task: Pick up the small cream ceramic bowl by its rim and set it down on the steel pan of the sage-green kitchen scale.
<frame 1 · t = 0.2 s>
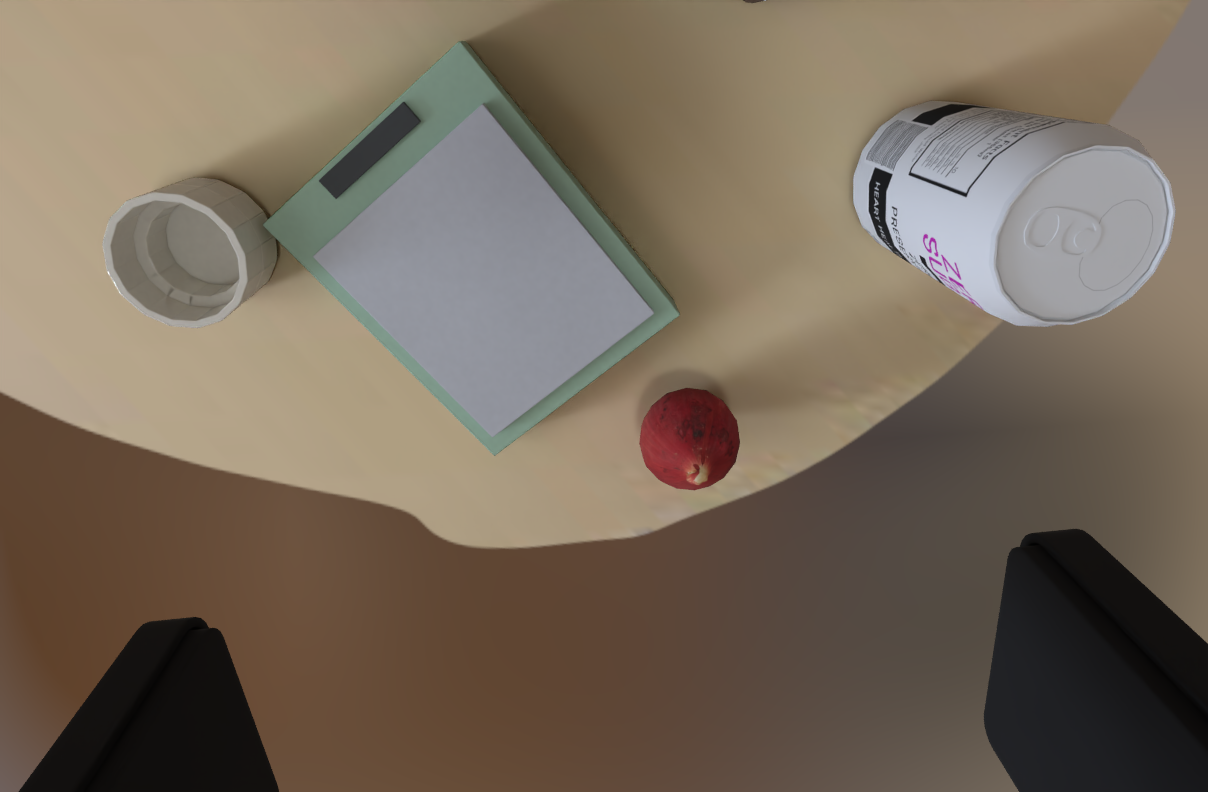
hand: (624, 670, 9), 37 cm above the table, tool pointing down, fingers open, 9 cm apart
supplement can: (919, 177, 44), on the table
onion: (680, 410, 49), on the table
scale: (483, 260, 44), on the table
bowl: (216, 239, 43), on the table
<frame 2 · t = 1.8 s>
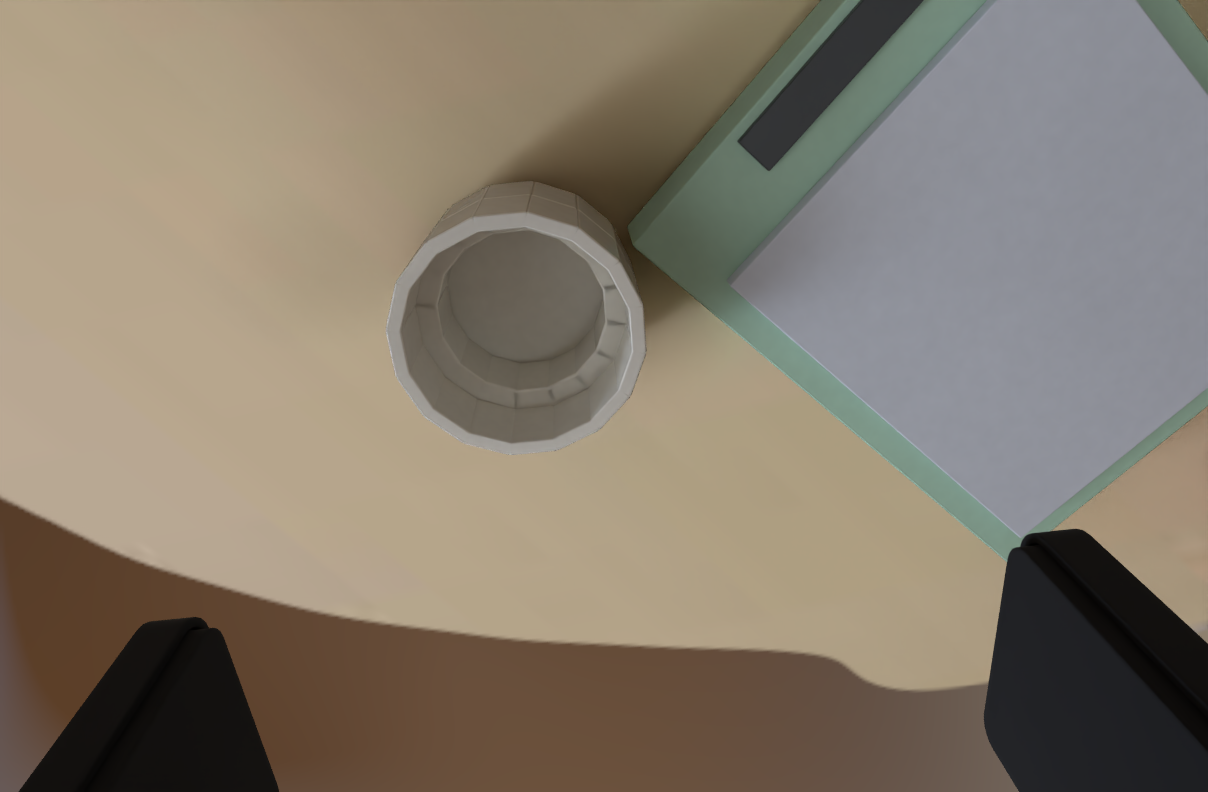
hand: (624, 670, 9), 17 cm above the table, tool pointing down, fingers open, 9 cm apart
scale: (977, 239, 25), on the table
bowl: (526, 286, 25), on the table
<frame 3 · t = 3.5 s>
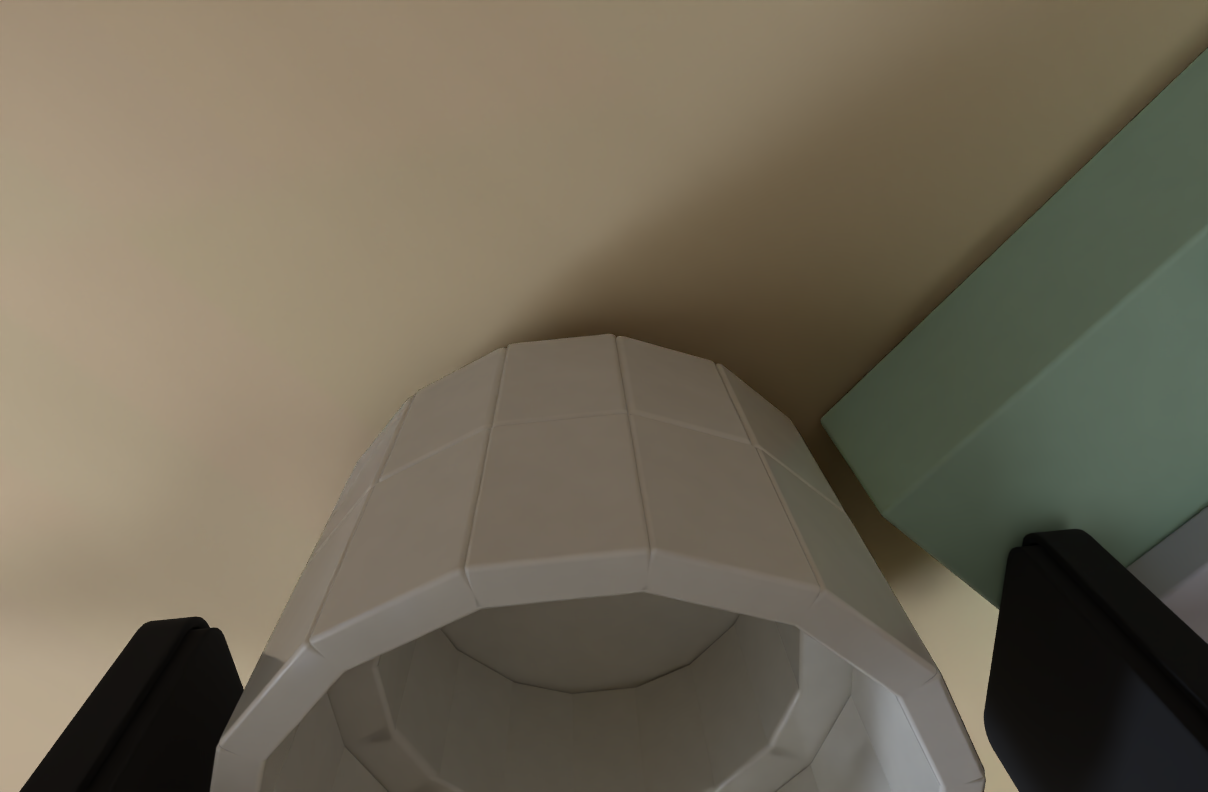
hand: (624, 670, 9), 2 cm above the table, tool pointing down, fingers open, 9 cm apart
bowl: (587, 540, 11), on the table
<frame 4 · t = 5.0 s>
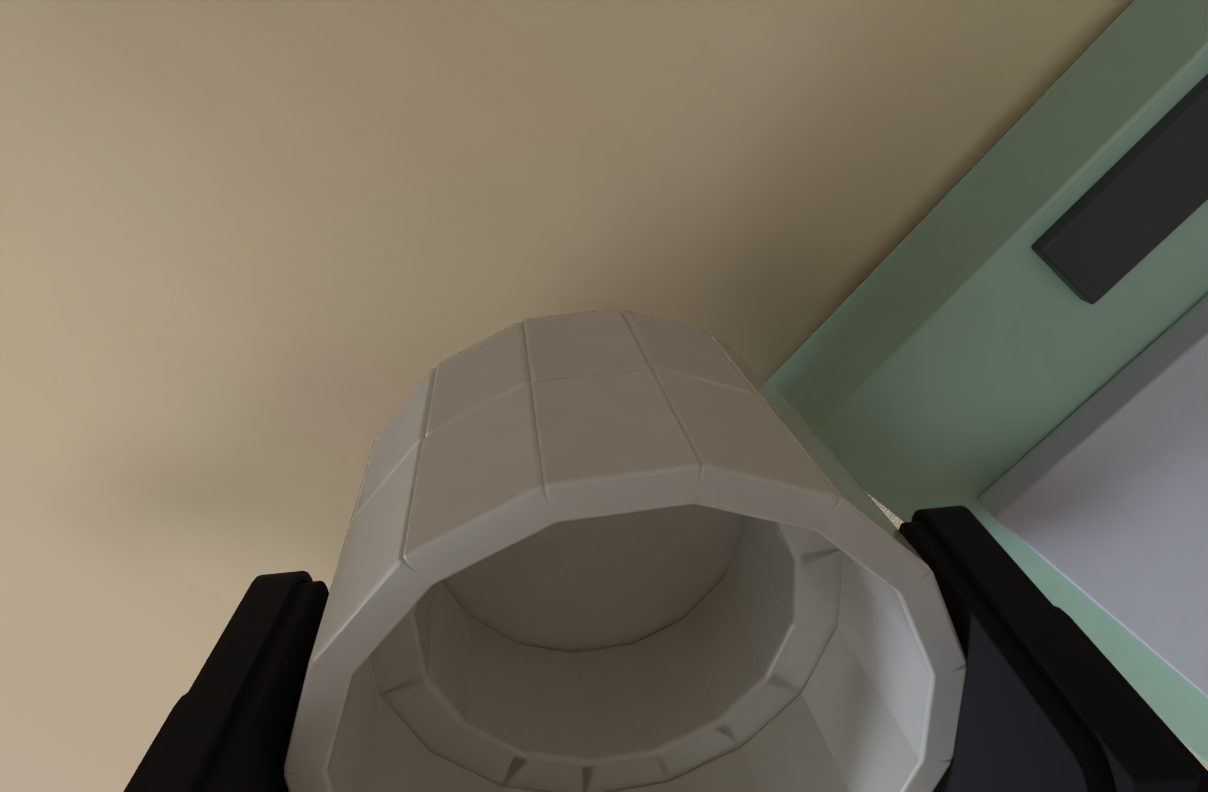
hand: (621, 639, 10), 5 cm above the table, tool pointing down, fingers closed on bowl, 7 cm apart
bowl: (587, 506, 12), point 2 cm above the table, touching gripper
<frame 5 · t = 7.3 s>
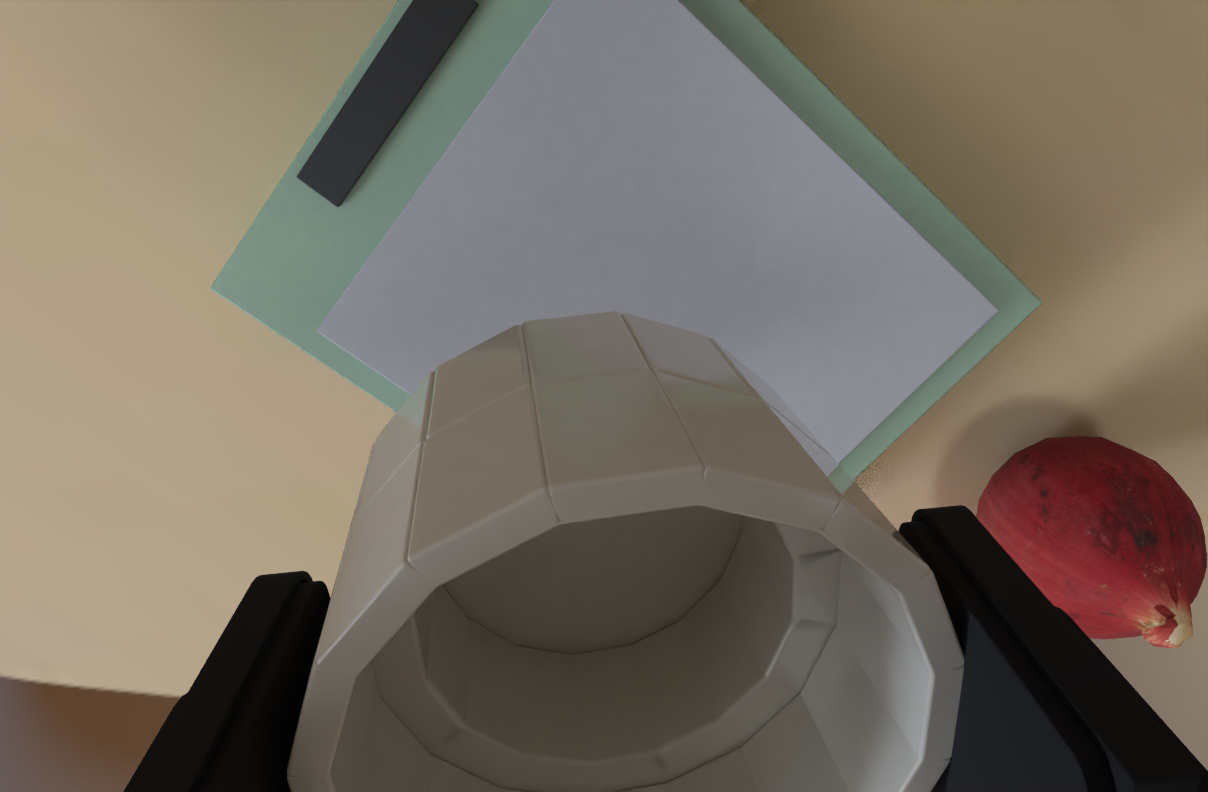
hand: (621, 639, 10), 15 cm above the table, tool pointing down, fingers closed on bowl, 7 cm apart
onion: (1013, 470, 27), on the table
scale: (631, 272, 23), on the table
bowl: (585, 508, 12), point 12 cm above the table, tilted 6°, touching gripper
when the fingers open (6 cm above the table, at t = 9.9 s): bowl stays where it is, resting on scale.
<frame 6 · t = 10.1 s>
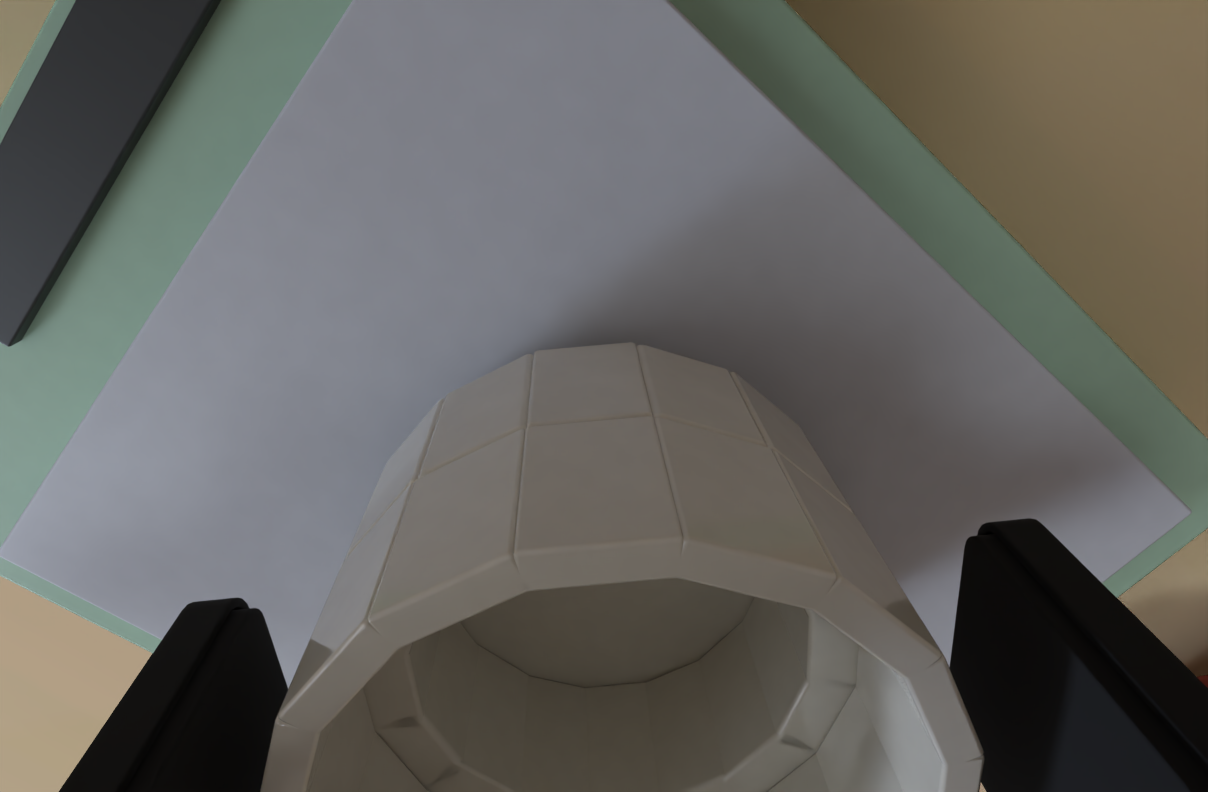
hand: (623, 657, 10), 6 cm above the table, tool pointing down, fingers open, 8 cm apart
scale: (570, 419, 14), on the table
bowl: (602, 540, 12), point 3 cm above the table, touching scale
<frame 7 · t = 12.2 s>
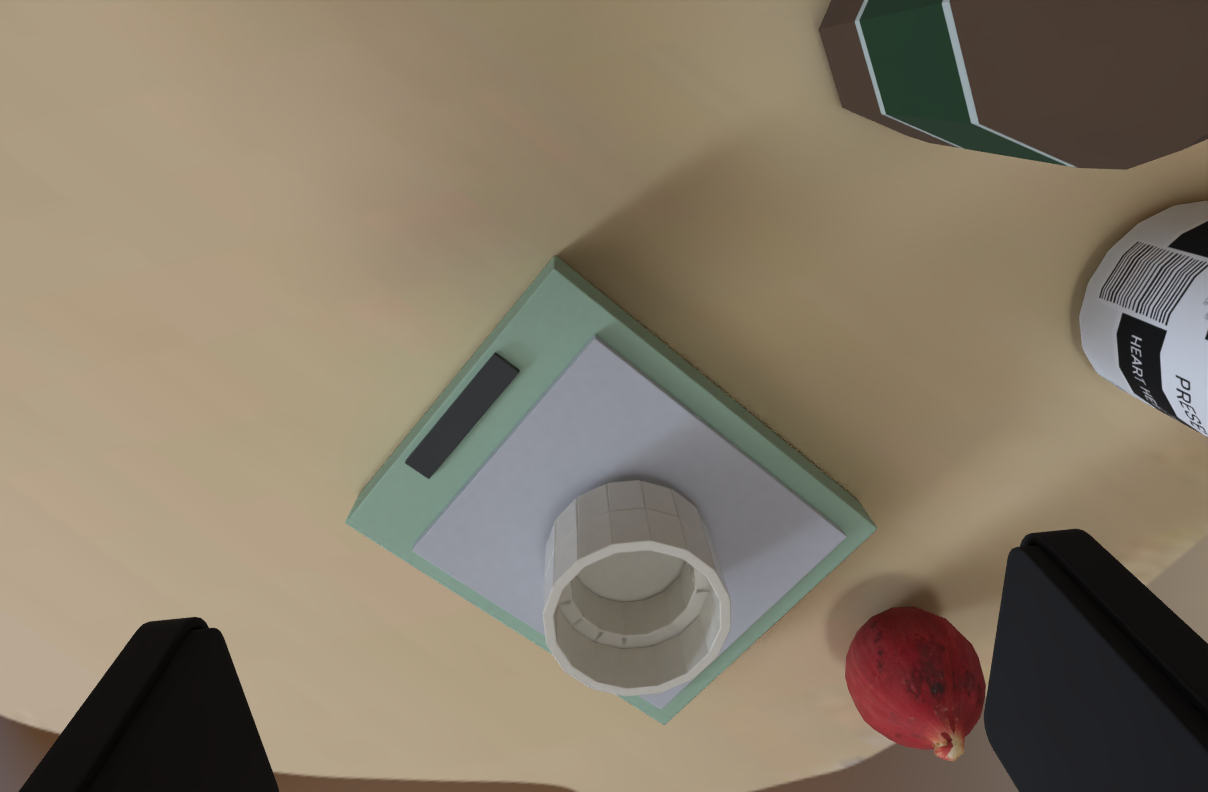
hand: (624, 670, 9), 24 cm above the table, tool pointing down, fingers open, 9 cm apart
supplement can: (1162, 296, 33), on the table
onion: (880, 620, 39), on the table
beer bottle: (915, 27, 29), on the table
scale: (613, 498, 35), on the table
bowl: (627, 546, 33), point 3 cm above the table, touching scale
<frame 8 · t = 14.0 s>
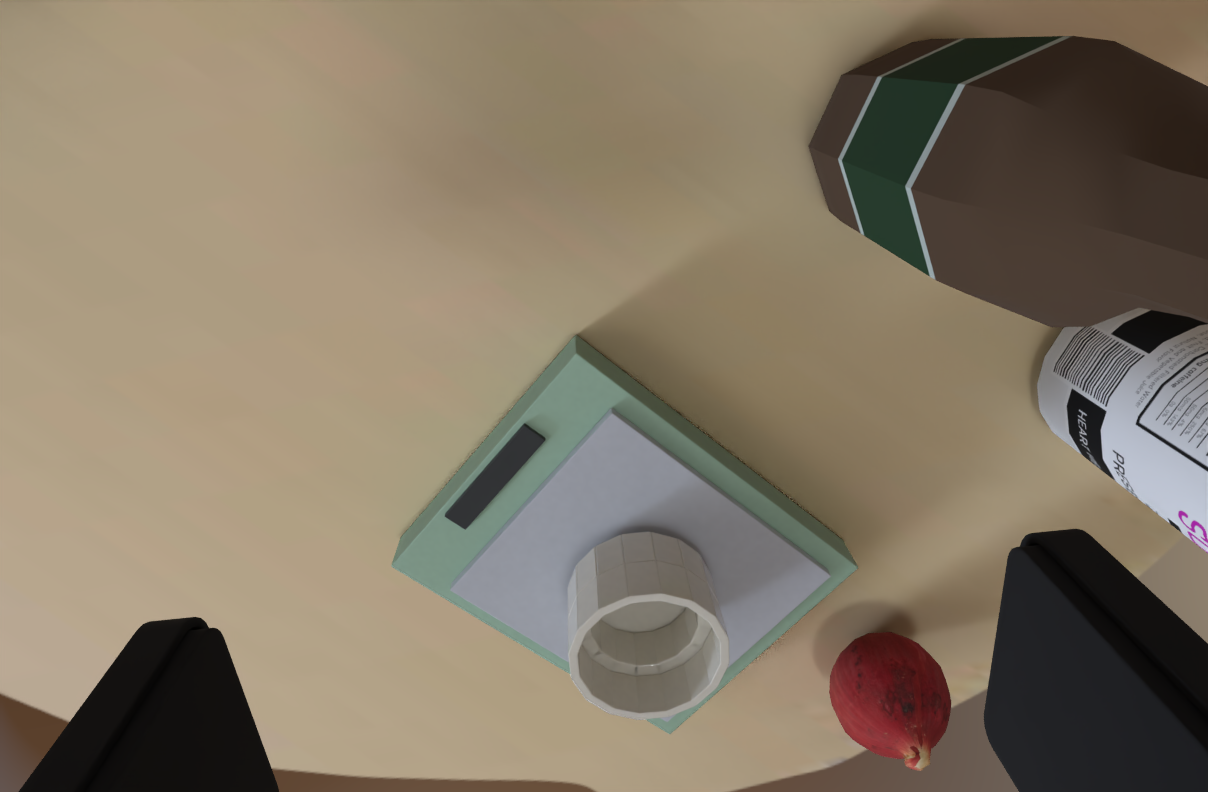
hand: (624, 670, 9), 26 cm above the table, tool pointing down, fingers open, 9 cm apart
supplement can: (1111, 364, 38), on the table
onion: (862, 640, 44), on the table
beer bottle: (893, 141, 33), on the table
scale: (625, 538, 40), on the table
bowl: (639, 585, 38), point 3 cm above the table, touching scale
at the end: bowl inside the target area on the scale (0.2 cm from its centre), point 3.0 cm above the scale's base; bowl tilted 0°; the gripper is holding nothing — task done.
